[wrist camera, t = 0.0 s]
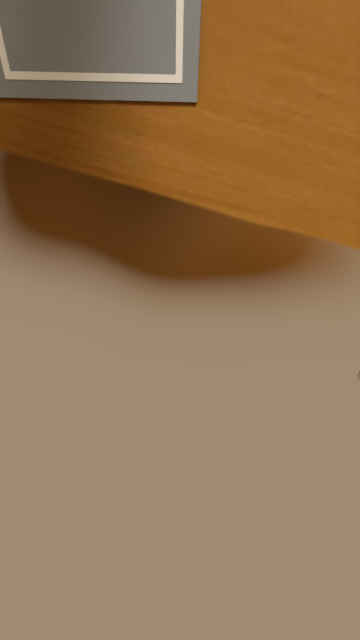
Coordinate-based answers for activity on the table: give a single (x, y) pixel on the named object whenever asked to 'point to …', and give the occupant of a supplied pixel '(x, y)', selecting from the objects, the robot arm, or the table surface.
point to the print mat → (100, 49)
